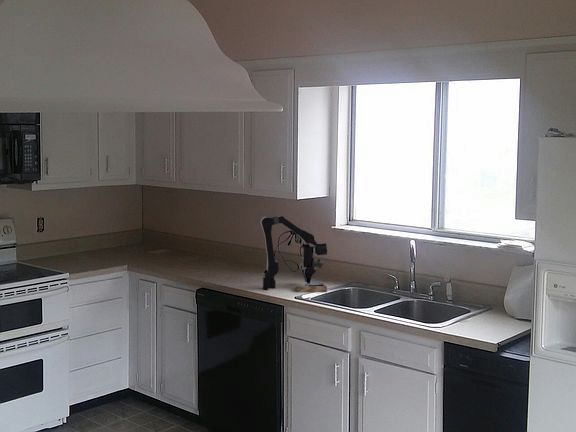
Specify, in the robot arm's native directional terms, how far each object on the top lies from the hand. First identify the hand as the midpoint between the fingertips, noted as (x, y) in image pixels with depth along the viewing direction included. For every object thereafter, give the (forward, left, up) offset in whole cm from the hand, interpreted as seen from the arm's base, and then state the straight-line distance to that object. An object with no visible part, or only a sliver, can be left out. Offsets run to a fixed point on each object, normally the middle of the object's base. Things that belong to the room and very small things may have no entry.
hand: (307, 283), depth 418 cm
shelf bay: (0, -12, -2) cm, 12 cm away
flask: (+3, -13, -3) cm, 14 cm away
